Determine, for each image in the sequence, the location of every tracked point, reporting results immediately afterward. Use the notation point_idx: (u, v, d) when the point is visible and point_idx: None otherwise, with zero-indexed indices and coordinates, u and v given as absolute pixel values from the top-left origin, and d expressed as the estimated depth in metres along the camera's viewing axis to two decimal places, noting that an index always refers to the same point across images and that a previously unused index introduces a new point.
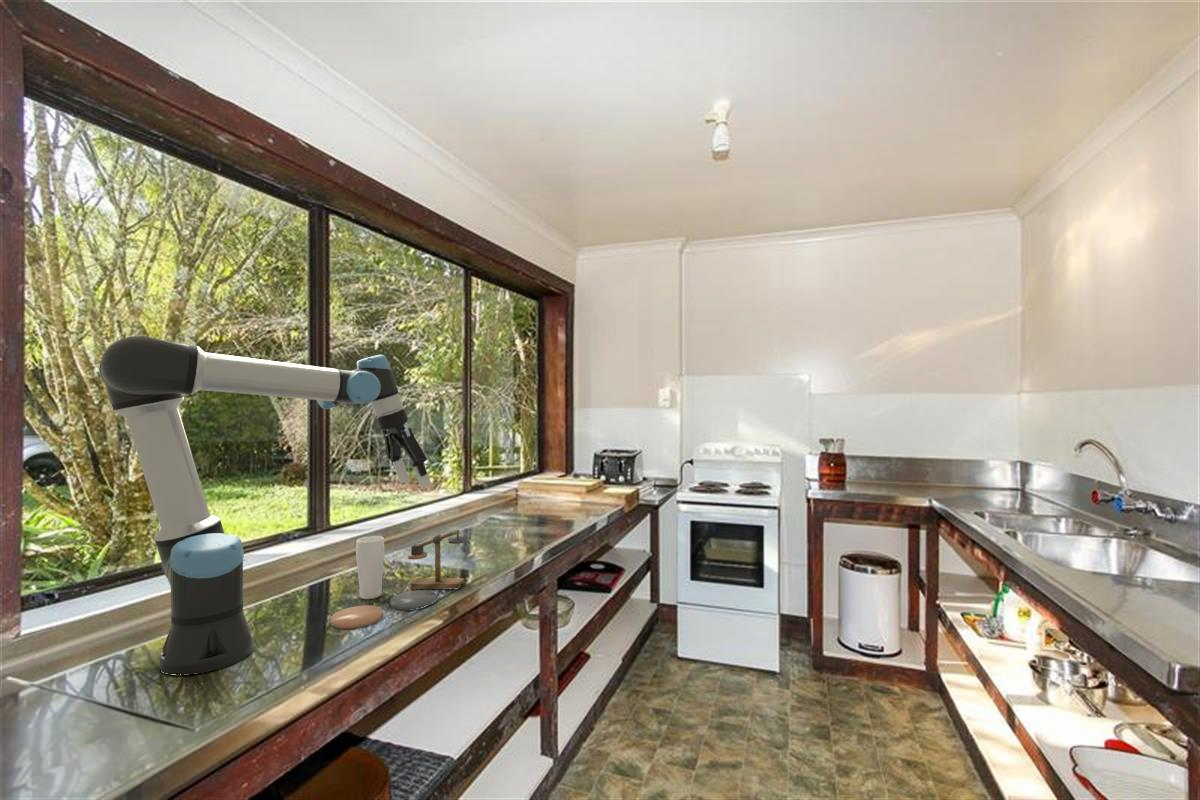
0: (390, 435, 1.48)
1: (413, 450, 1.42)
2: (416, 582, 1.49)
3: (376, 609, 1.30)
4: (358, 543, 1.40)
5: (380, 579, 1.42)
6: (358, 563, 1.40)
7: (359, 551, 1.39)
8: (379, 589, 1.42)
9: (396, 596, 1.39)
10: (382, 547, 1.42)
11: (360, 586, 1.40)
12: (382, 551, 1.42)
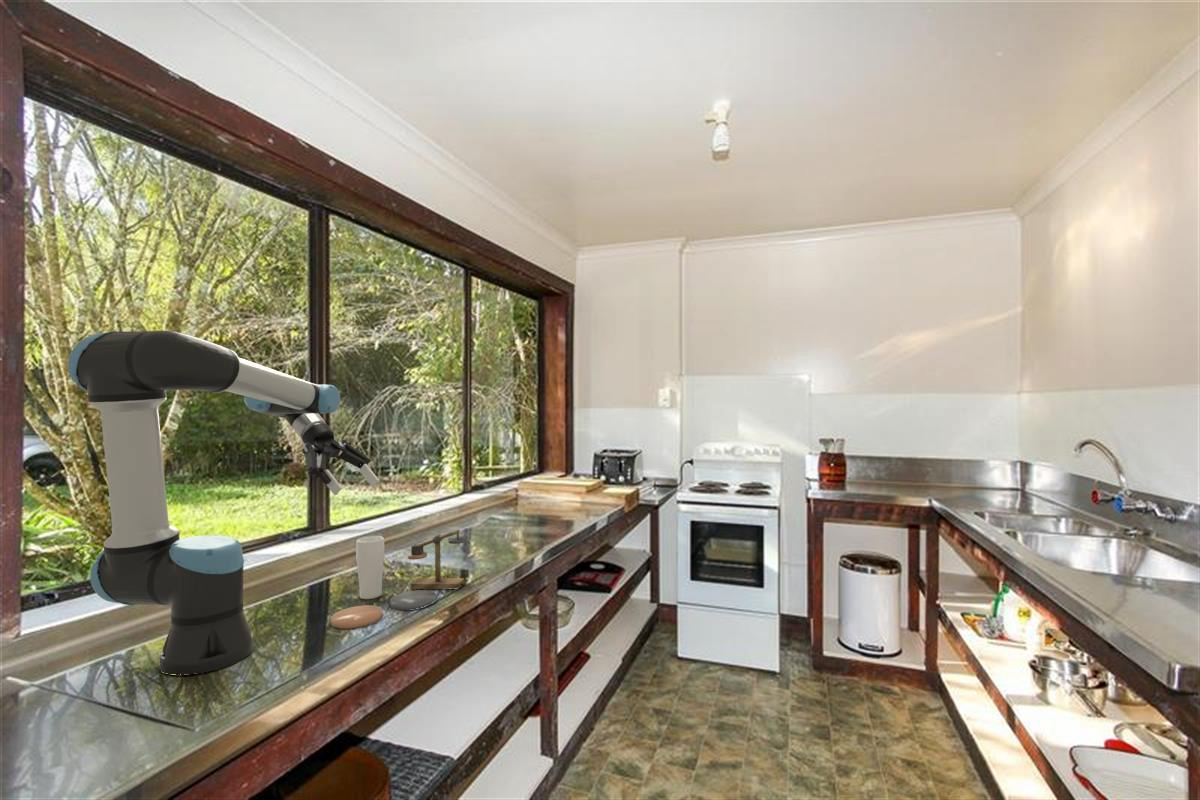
0: (327, 443, 1.49)
1: None
2: (416, 582, 1.49)
3: (376, 609, 1.30)
4: (358, 543, 1.40)
5: (380, 579, 1.42)
6: (358, 563, 1.40)
7: (359, 551, 1.39)
8: (379, 589, 1.42)
9: (396, 596, 1.39)
10: (382, 547, 1.42)
11: (360, 586, 1.40)
12: (382, 551, 1.42)
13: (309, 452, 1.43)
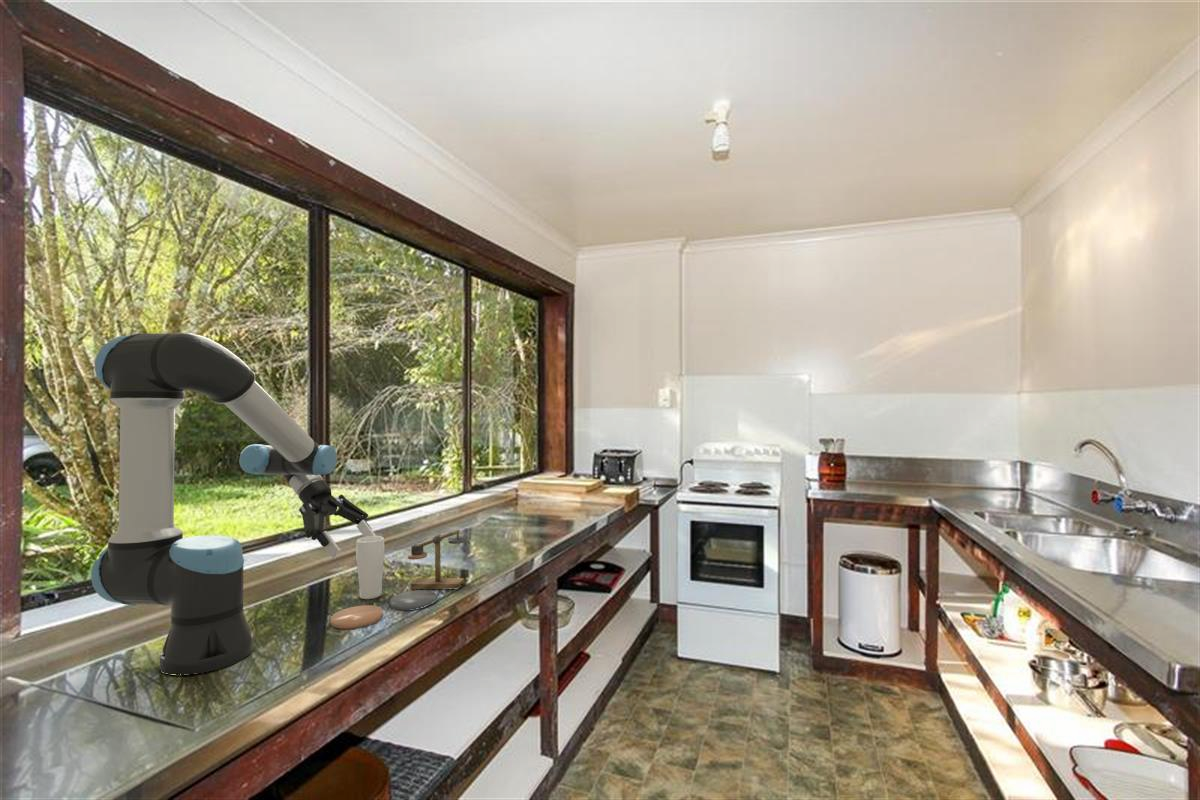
0: None
1: None
2: (416, 582, 1.49)
3: (376, 609, 1.30)
4: (358, 543, 1.40)
5: (380, 579, 1.42)
6: (358, 563, 1.40)
7: (359, 551, 1.39)
8: (379, 589, 1.42)
9: (396, 596, 1.39)
10: (382, 547, 1.42)
11: (360, 586, 1.40)
12: (382, 551, 1.42)
13: (307, 513, 1.41)
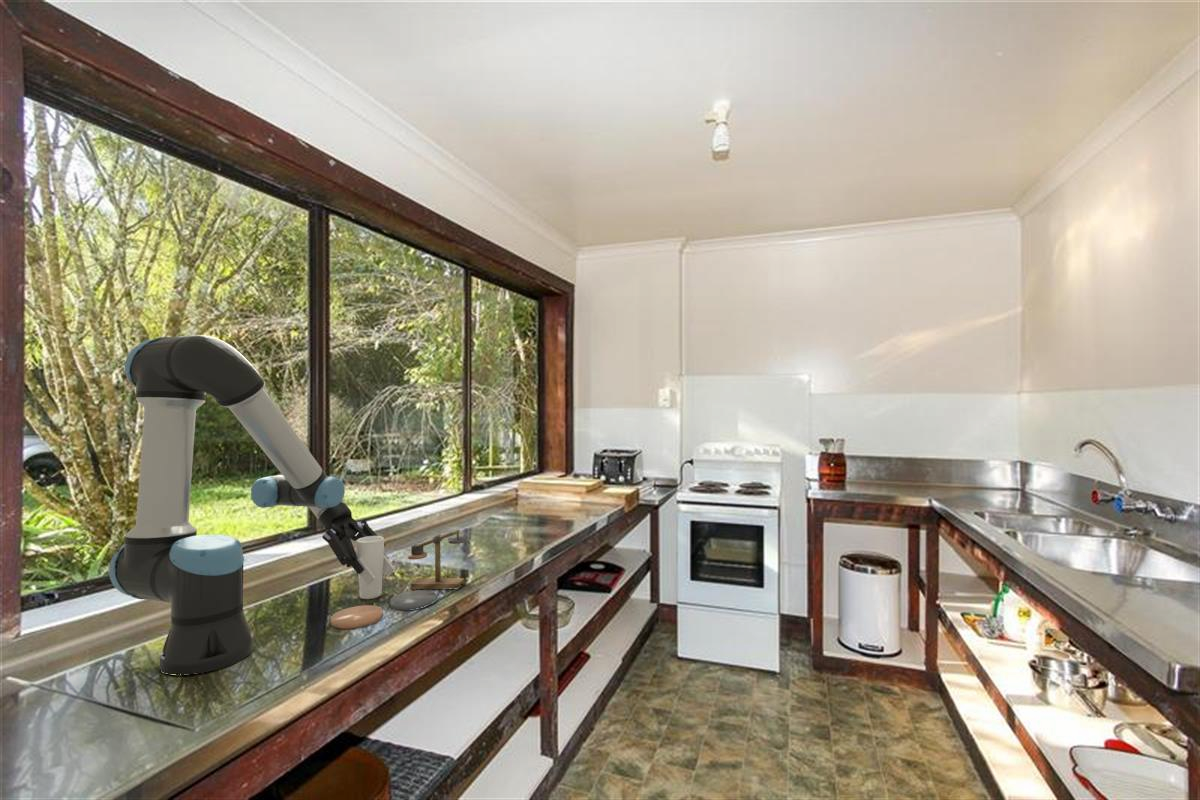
0: None
1: None
2: (416, 582, 1.49)
3: (376, 609, 1.30)
4: (358, 543, 1.40)
5: (380, 579, 1.42)
6: None
7: (359, 551, 1.39)
8: (379, 589, 1.42)
9: (396, 596, 1.39)
10: (382, 547, 1.42)
11: (360, 586, 1.40)
12: (382, 551, 1.42)
13: (334, 540, 1.38)
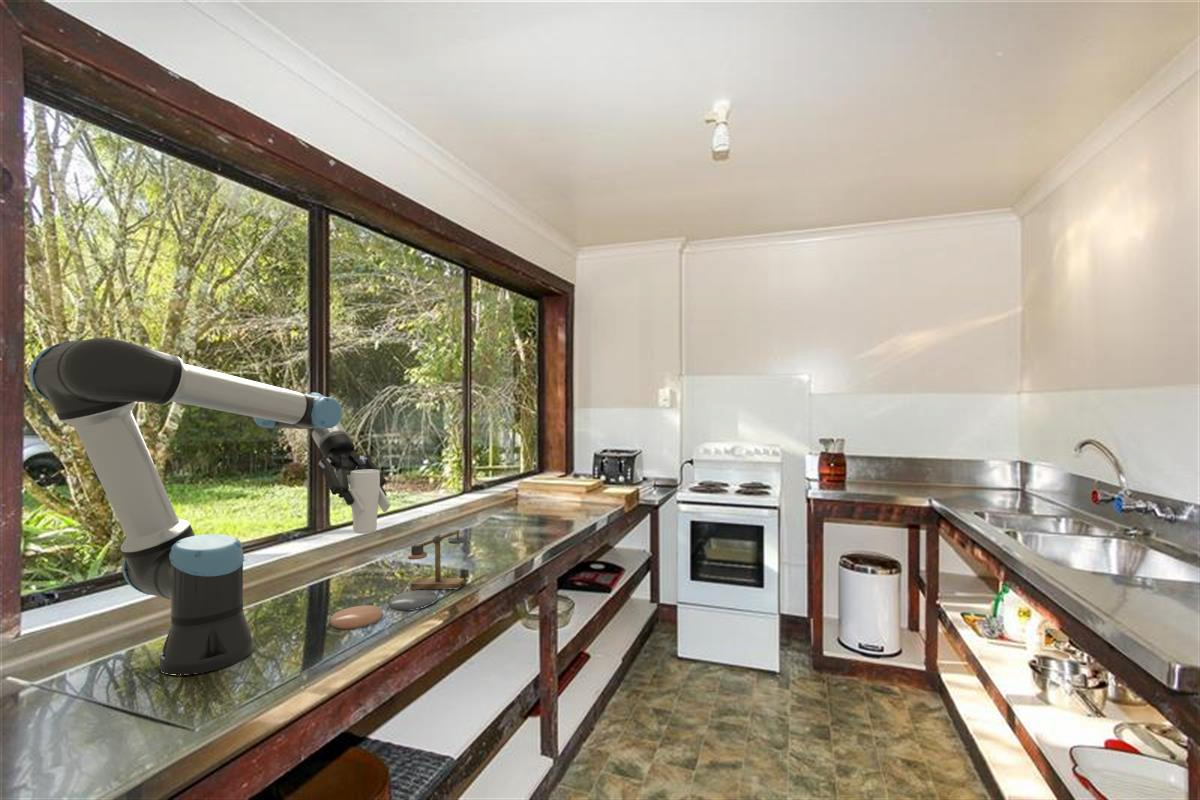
0: None
1: None
2: (416, 582, 1.49)
3: (376, 609, 1.30)
4: (351, 473, 1.33)
5: (373, 514, 1.34)
6: None
7: (351, 482, 1.32)
8: (372, 524, 1.33)
9: (396, 596, 1.39)
10: (376, 480, 1.34)
11: (353, 519, 1.33)
12: (375, 484, 1.34)
13: (327, 469, 1.32)
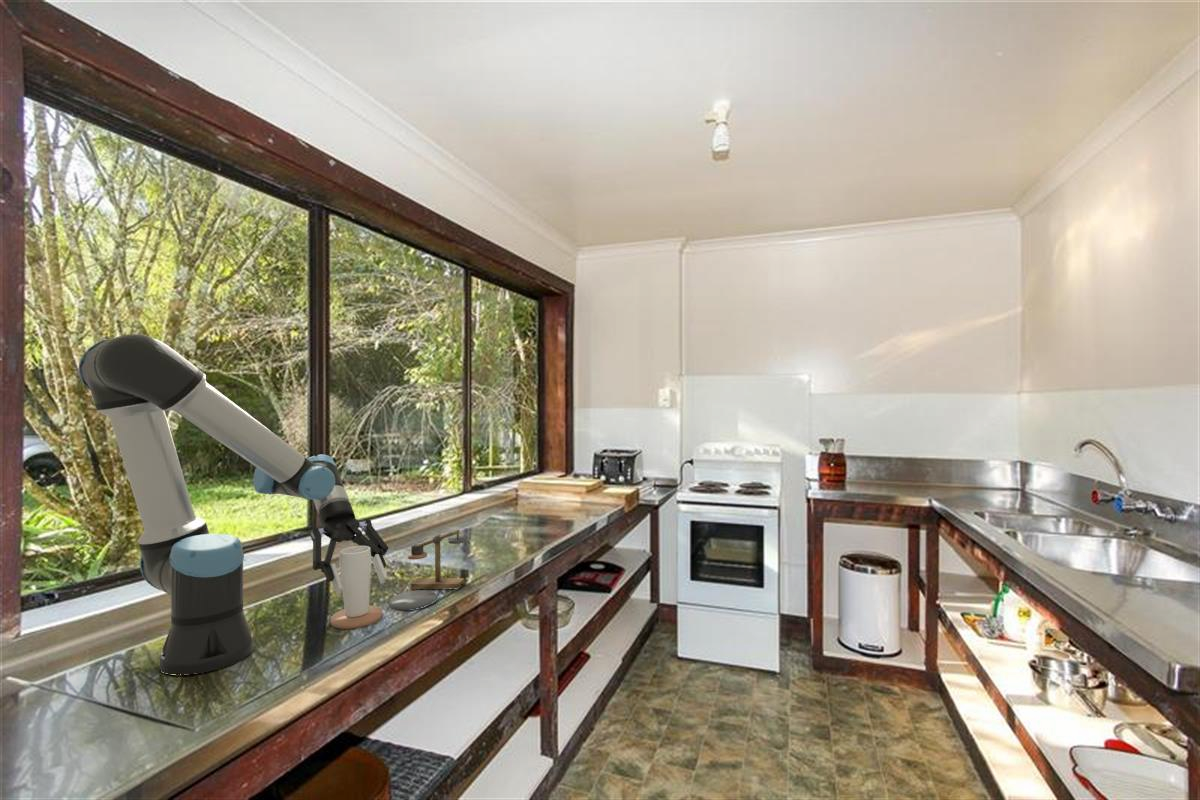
0: None
1: None
2: (416, 582, 1.49)
3: (376, 609, 1.30)
4: (339, 554, 1.25)
5: (363, 596, 1.25)
6: (340, 576, 1.26)
7: (340, 563, 1.25)
8: (362, 608, 1.25)
9: (396, 596, 1.39)
10: (364, 560, 1.25)
11: None
12: (363, 565, 1.25)
13: (315, 541, 1.26)
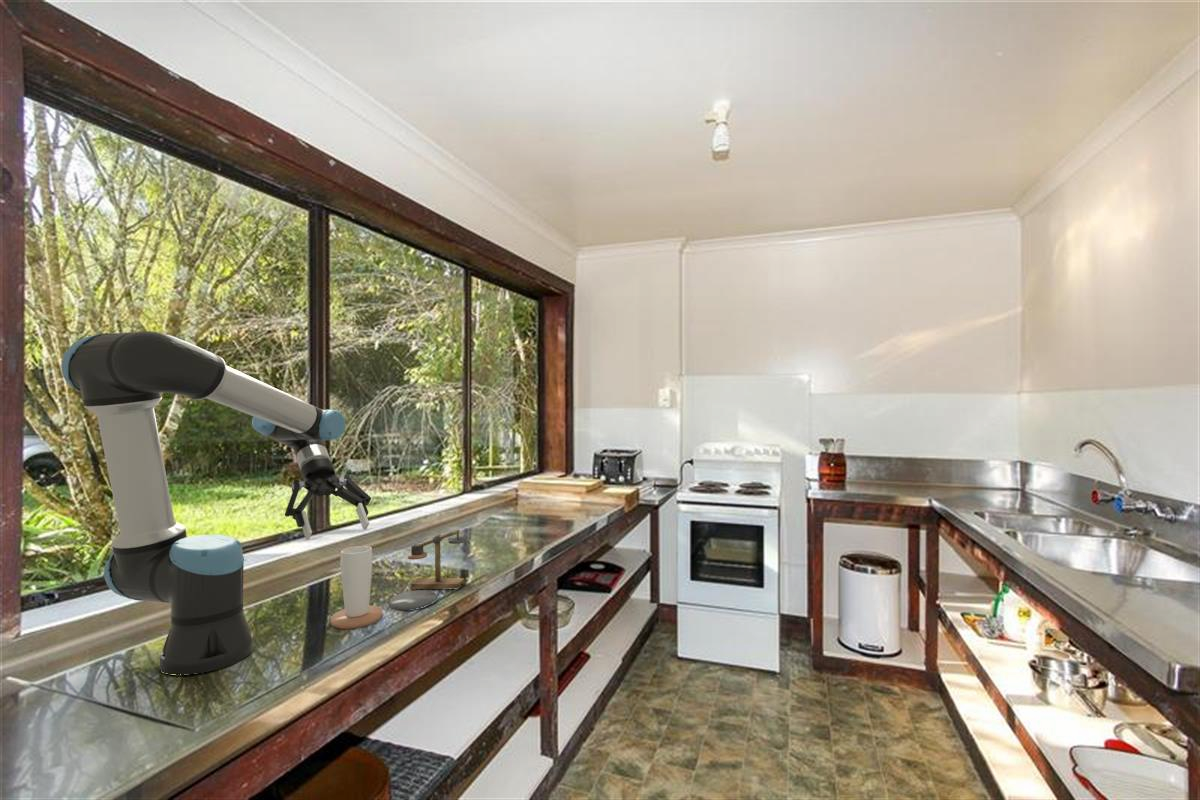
0: (320, 480, 1.40)
1: None
2: (416, 582, 1.49)
3: (376, 609, 1.30)
4: (341, 553, 1.26)
5: (363, 596, 1.26)
6: (341, 575, 1.26)
7: (341, 562, 1.25)
8: (362, 608, 1.25)
9: (396, 596, 1.39)
10: (365, 560, 1.26)
11: (344, 601, 1.26)
12: (364, 565, 1.25)
13: (293, 490, 1.35)
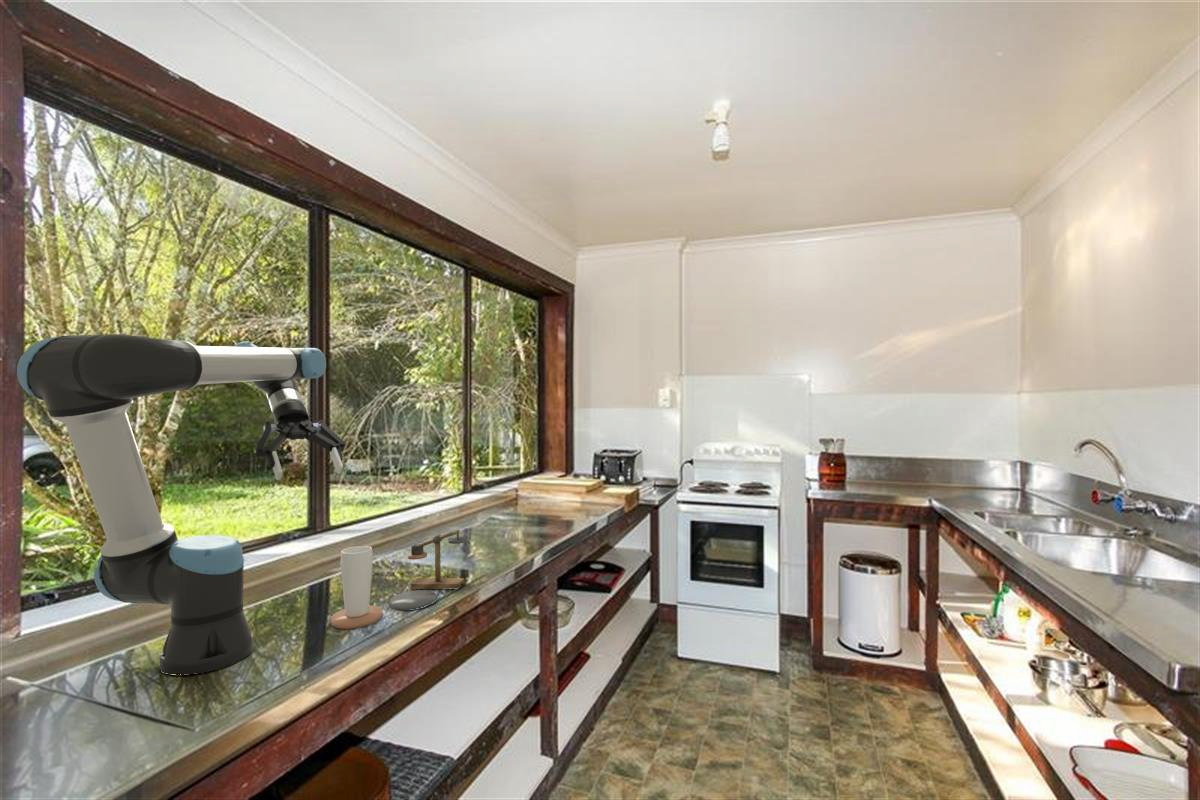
0: None
1: None
2: (416, 582, 1.49)
3: (376, 609, 1.30)
4: (341, 553, 1.26)
5: (364, 596, 1.26)
6: (341, 575, 1.26)
7: (341, 562, 1.25)
8: (362, 608, 1.25)
9: (396, 596, 1.39)
10: (365, 560, 1.26)
11: (344, 601, 1.26)
12: (365, 565, 1.25)
13: (264, 432, 1.31)
